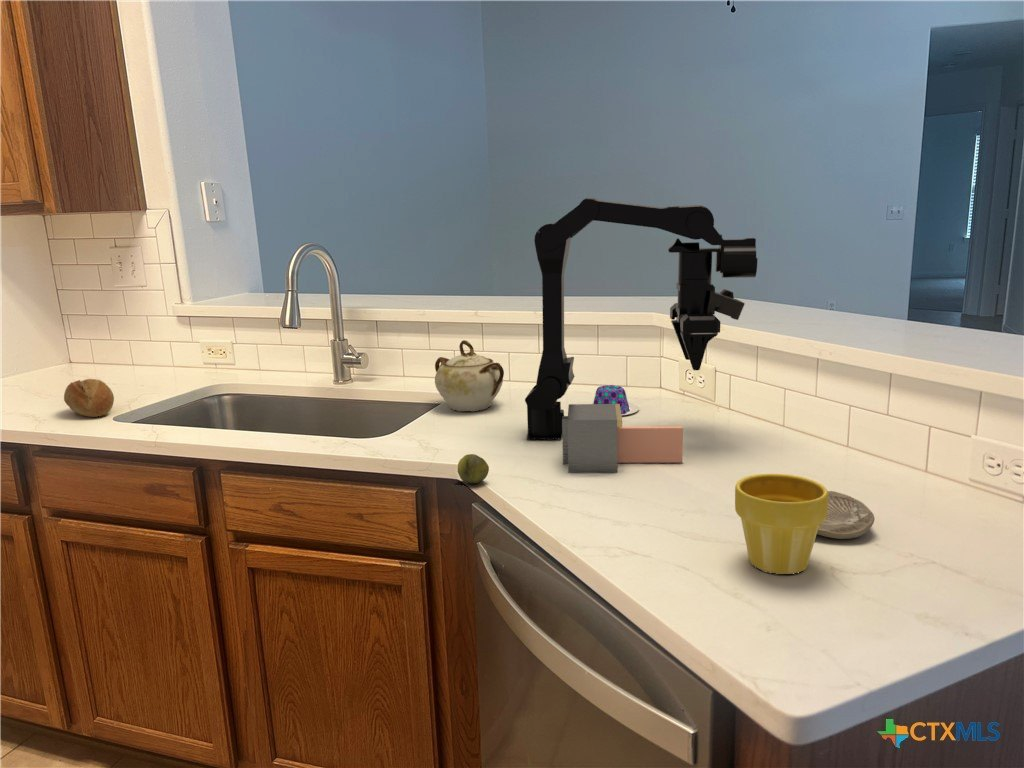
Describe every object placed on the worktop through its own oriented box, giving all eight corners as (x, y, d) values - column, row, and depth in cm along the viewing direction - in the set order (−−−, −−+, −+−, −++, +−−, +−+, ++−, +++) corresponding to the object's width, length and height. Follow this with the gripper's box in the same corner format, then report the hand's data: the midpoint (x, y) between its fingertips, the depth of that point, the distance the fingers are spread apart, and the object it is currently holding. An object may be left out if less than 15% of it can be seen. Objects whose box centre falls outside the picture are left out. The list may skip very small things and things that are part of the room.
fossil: (822, 556, 97) (822, 536, 96) (768, 518, 107) (768, 499, 107) (892, 537, 99) (893, 518, 98) (833, 502, 110) (833, 484, 109)
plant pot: (748, 538, 100) (751, 466, 98) (832, 556, 94) (837, 480, 92) (720, 569, 92) (723, 492, 90) (810, 591, 86) (815, 509, 84)
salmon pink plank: (574, 462, 131) (574, 428, 130) (574, 460, 132) (574, 427, 131) (682, 462, 129) (683, 428, 128) (681, 460, 130) (682, 426, 129)
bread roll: (76, 424, 168) (71, 388, 166) (60, 412, 179) (54, 378, 177) (123, 415, 174) (118, 381, 172) (104, 404, 185) (99, 371, 183)
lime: (455, 481, 125) (453, 452, 123) (483, 476, 126) (481, 447, 125) (464, 490, 121) (462, 460, 119) (492, 485, 122) (491, 455, 121)
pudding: (611, 422, 156) (611, 397, 155) (570, 412, 165) (570, 388, 164) (650, 411, 163) (651, 387, 162) (609, 401, 172) (609, 378, 171)
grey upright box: (562, 472, 127) (561, 420, 125) (564, 453, 137) (563, 404, 135) (622, 472, 126) (622, 419, 124) (619, 453, 136) (619, 403, 134)
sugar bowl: (414, 408, 171) (410, 342, 167) (459, 394, 182) (456, 332, 179) (481, 421, 159) (478, 350, 155) (526, 405, 170) (524, 338, 166)
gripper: (753, 282, 126) (749, 375, 130) (730, 272, 144) (727, 354, 148) (684, 283, 127) (682, 376, 130) (670, 273, 145) (668, 355, 149)
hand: (692, 364), depth 139 cm, fingers open, 9 cm apart
